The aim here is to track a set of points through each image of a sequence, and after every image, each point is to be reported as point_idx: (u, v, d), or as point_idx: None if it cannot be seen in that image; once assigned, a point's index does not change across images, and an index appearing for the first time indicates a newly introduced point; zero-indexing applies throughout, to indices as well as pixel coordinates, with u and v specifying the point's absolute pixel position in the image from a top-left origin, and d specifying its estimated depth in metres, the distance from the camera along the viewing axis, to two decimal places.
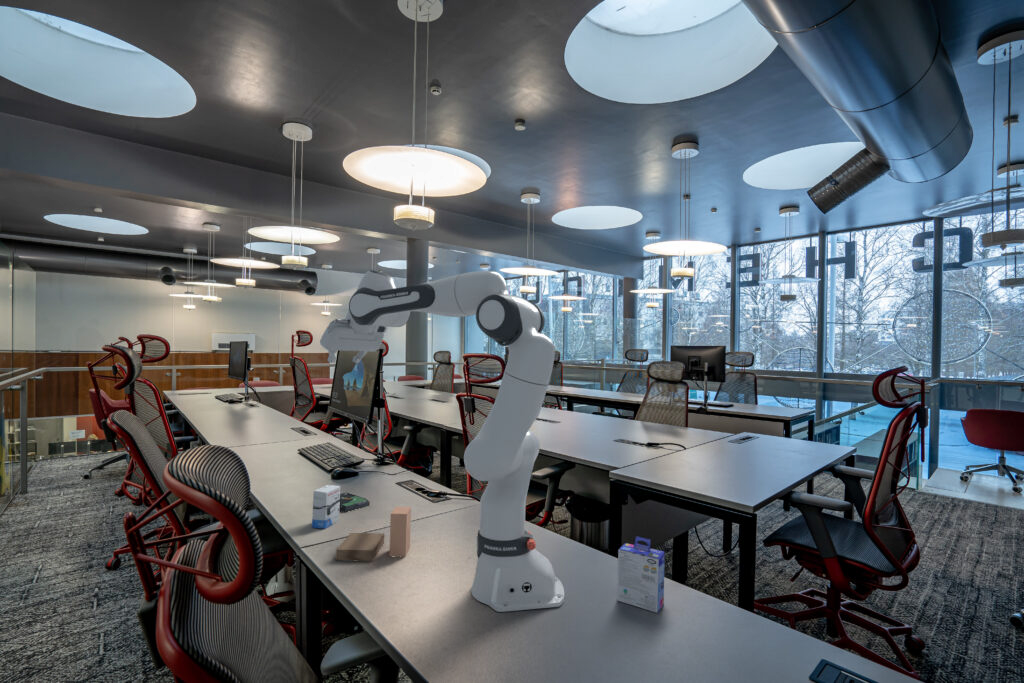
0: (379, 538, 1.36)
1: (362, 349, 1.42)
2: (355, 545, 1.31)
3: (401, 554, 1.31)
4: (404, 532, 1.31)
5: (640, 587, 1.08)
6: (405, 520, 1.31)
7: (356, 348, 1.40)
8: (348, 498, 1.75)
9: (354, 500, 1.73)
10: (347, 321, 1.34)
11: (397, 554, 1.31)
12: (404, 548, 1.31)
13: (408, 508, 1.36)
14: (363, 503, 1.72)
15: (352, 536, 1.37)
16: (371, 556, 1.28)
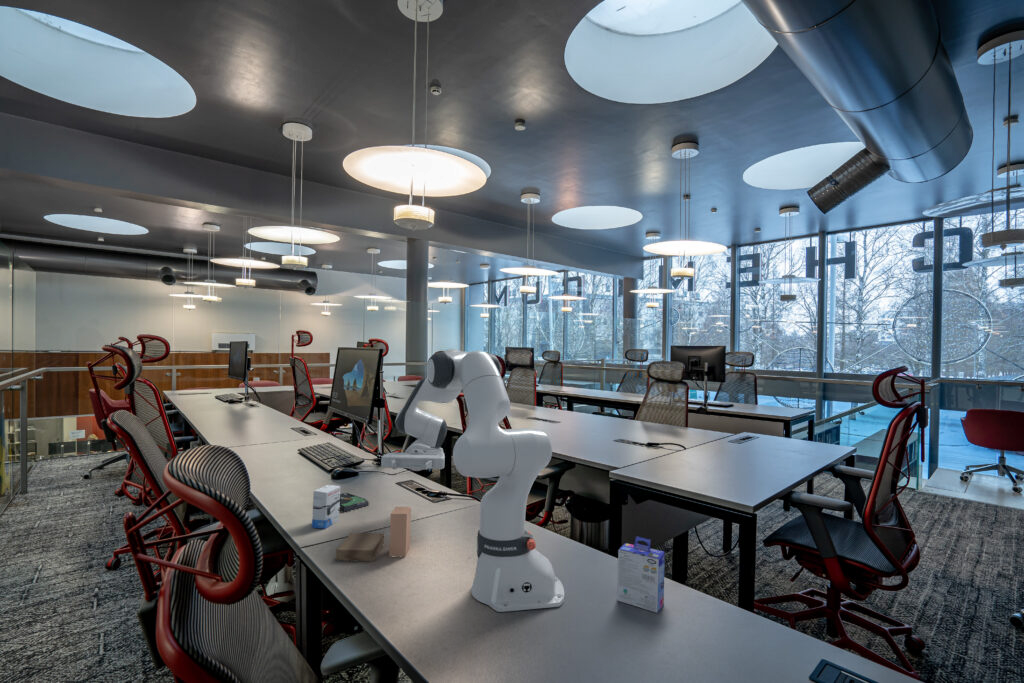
0: (379, 538, 1.36)
1: (423, 457, 1.50)
2: (355, 545, 1.31)
3: (401, 554, 1.31)
4: (404, 532, 1.31)
5: (640, 587, 1.08)
6: (405, 520, 1.31)
7: (415, 456, 1.50)
8: (347, 498, 1.75)
9: (353, 500, 1.73)
10: None
11: (397, 554, 1.31)
12: (404, 548, 1.31)
13: (408, 508, 1.36)
14: (362, 503, 1.72)
15: (352, 536, 1.37)
16: (371, 556, 1.28)
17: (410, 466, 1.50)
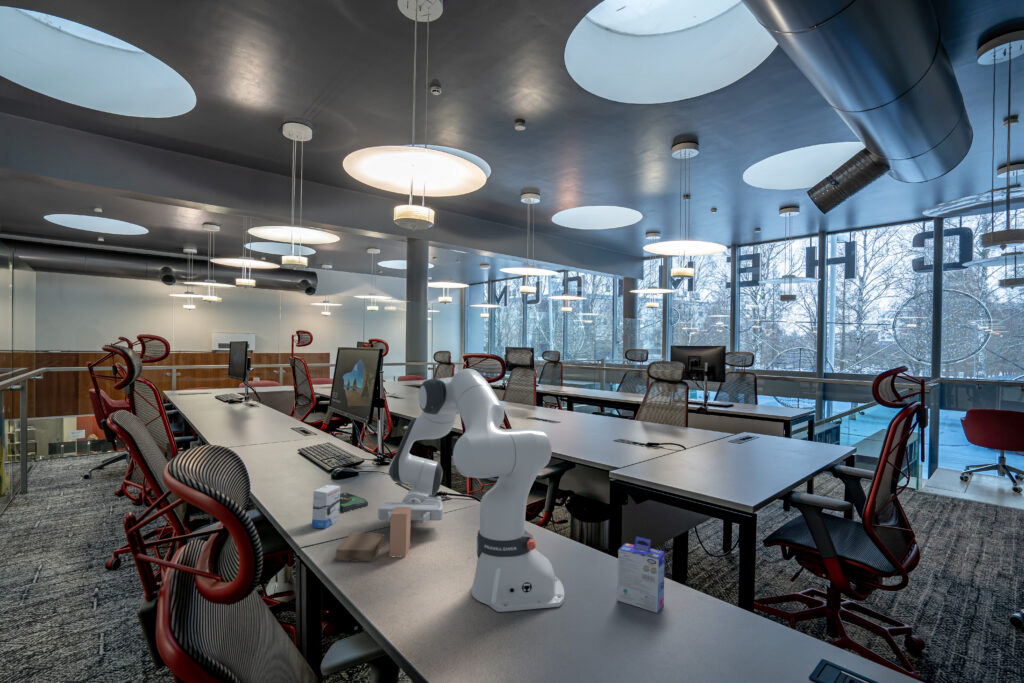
0: (379, 538, 1.36)
1: (420, 508, 1.47)
2: (355, 545, 1.31)
3: (401, 554, 1.31)
4: (404, 532, 1.31)
5: (640, 587, 1.08)
6: (405, 520, 1.31)
7: (413, 507, 1.47)
8: (347, 498, 1.75)
9: (353, 500, 1.73)
10: None
11: (397, 554, 1.31)
12: (404, 548, 1.31)
13: (408, 508, 1.36)
14: (361, 504, 1.71)
15: (352, 536, 1.37)
16: (371, 556, 1.28)
17: None
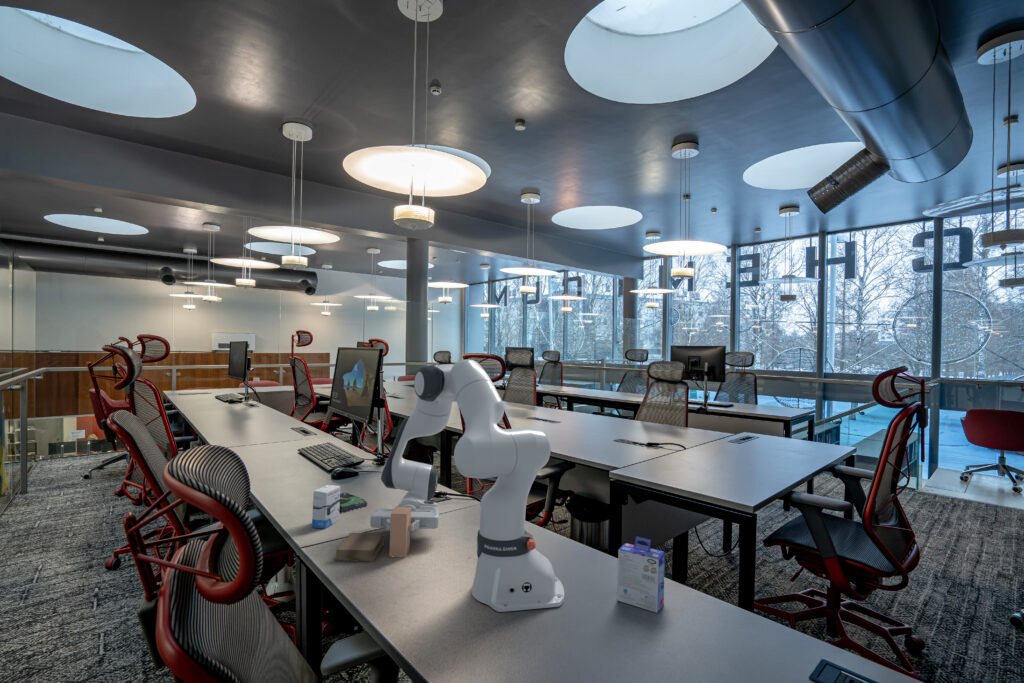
0: (379, 538, 1.36)
1: (415, 515, 1.39)
2: (355, 545, 1.31)
3: (401, 554, 1.31)
4: (404, 532, 1.31)
5: (640, 587, 1.08)
6: (405, 520, 1.31)
7: None
8: (346, 498, 1.75)
9: (352, 500, 1.73)
10: None
11: (397, 554, 1.31)
12: (404, 548, 1.31)
13: (408, 508, 1.36)
14: (360, 504, 1.71)
15: (352, 536, 1.37)
16: (371, 556, 1.28)
17: None
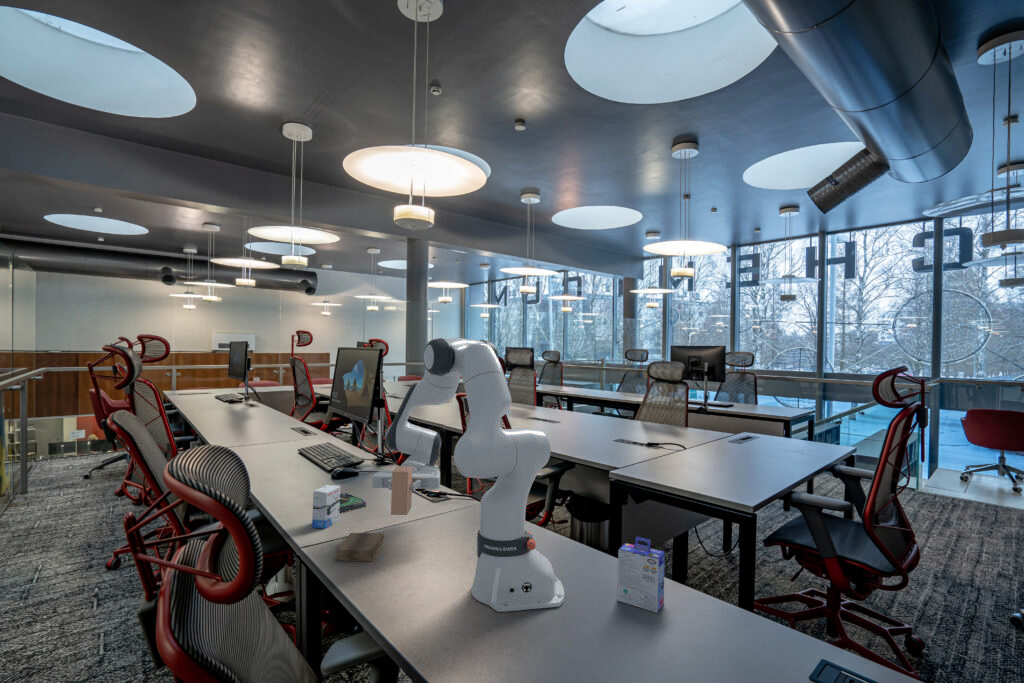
0: (379, 538, 1.36)
1: (417, 476, 1.39)
2: (355, 545, 1.31)
3: (402, 512, 1.31)
4: (405, 490, 1.32)
5: (640, 587, 1.08)
6: (406, 478, 1.32)
7: None
8: (345, 498, 1.75)
9: (351, 501, 1.72)
10: None
11: (398, 512, 1.31)
12: (405, 506, 1.31)
13: (409, 468, 1.36)
14: (359, 504, 1.71)
15: (352, 536, 1.37)
16: (371, 556, 1.28)
17: None
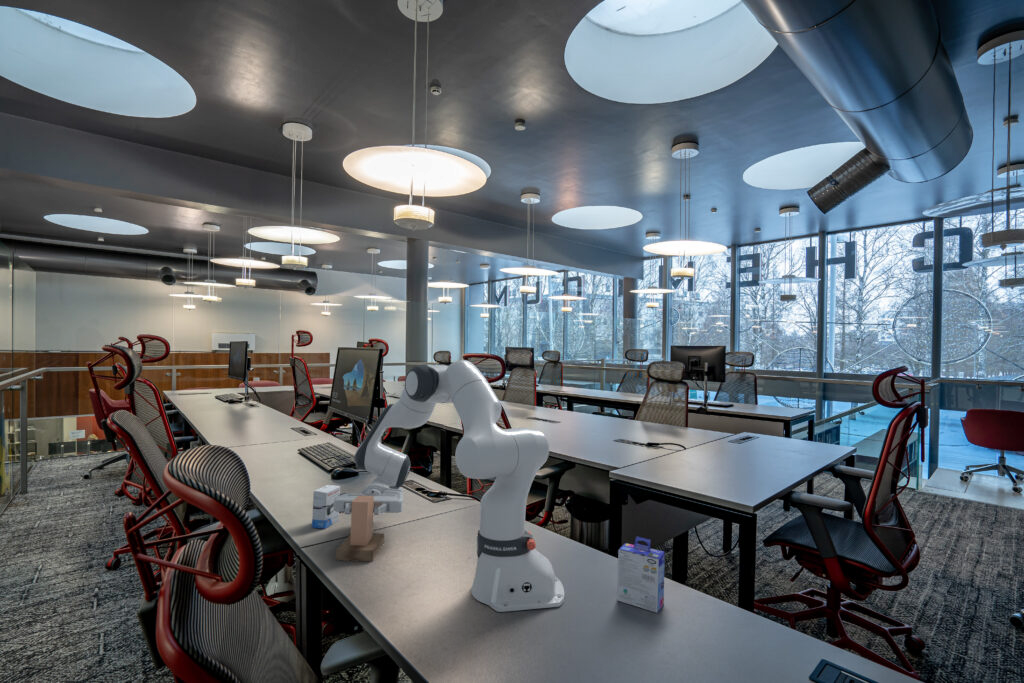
0: (379, 538, 1.36)
1: (379, 499, 1.39)
2: (355, 545, 1.31)
3: (362, 542, 1.31)
4: (365, 520, 1.31)
5: (640, 587, 1.08)
6: (366, 508, 1.31)
7: None
8: None
9: None
10: None
11: (358, 542, 1.31)
12: (365, 536, 1.31)
13: (370, 497, 1.36)
14: None
15: None
16: (371, 556, 1.28)
17: None
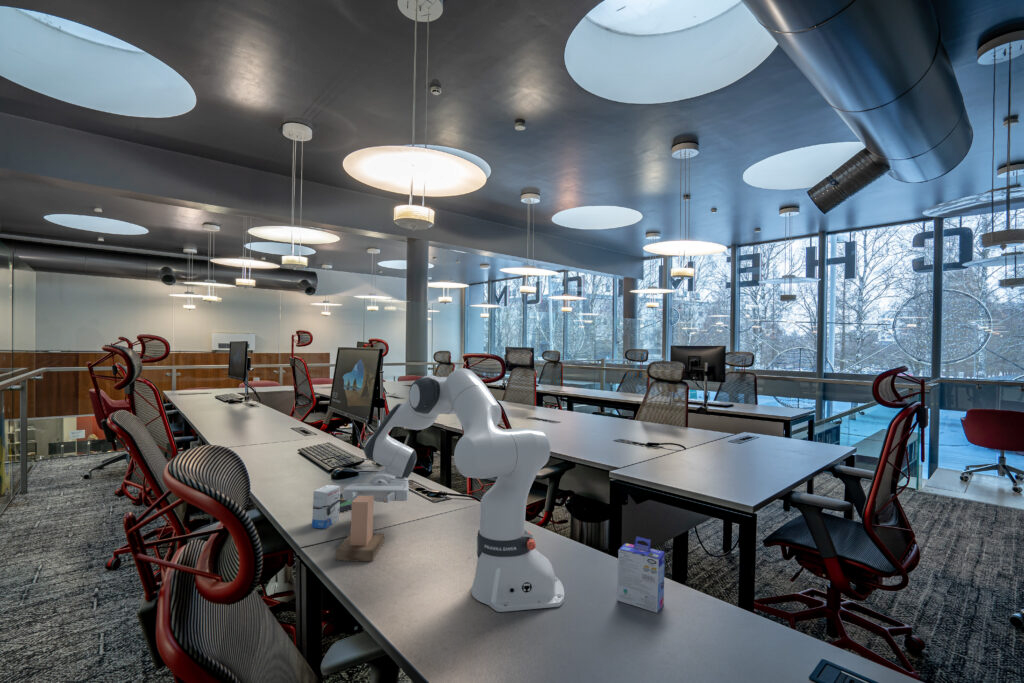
0: (379, 538, 1.36)
1: (385, 488, 1.47)
2: (355, 545, 1.31)
3: (362, 542, 1.31)
4: (365, 520, 1.31)
5: (640, 587, 1.08)
6: (366, 508, 1.31)
7: (378, 488, 1.47)
8: (343, 499, 1.74)
9: (348, 501, 1.72)
10: None
11: (358, 542, 1.31)
12: (365, 536, 1.31)
13: (370, 497, 1.36)
14: None
15: None
16: (371, 556, 1.28)
17: None
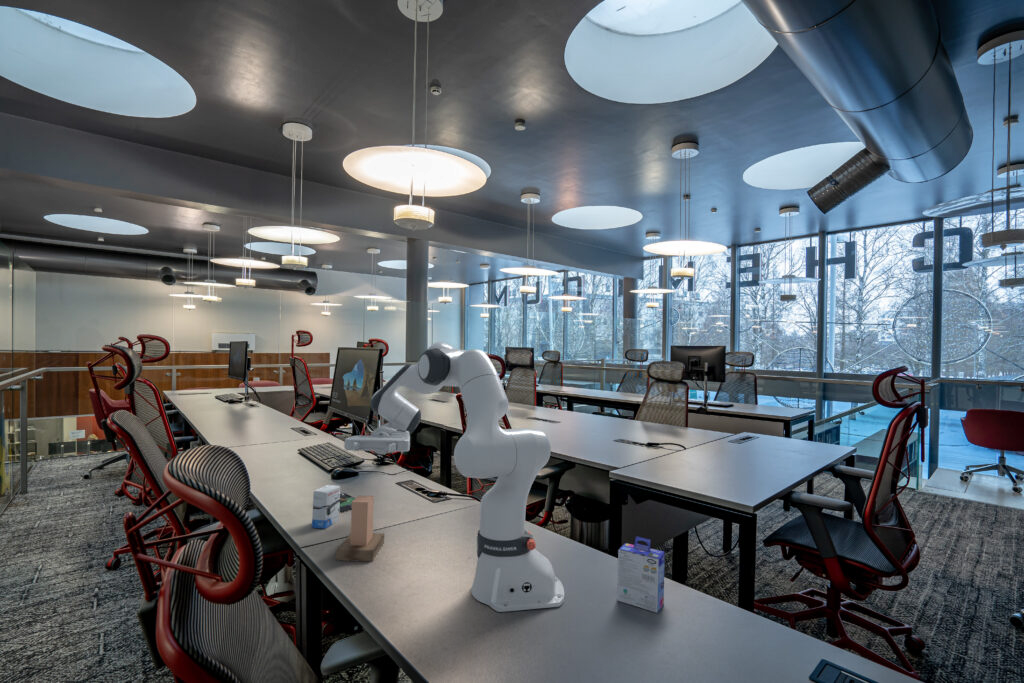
0: (379, 538, 1.36)
1: (387, 439, 1.47)
2: (355, 545, 1.31)
3: (362, 542, 1.31)
4: (365, 520, 1.31)
5: (640, 587, 1.08)
6: (366, 508, 1.31)
7: (379, 439, 1.47)
8: (343, 499, 1.74)
9: (348, 501, 1.72)
10: None
11: (358, 542, 1.31)
12: (365, 536, 1.31)
13: (370, 497, 1.36)
14: None
15: None
16: (371, 556, 1.28)
17: (374, 448, 1.47)
